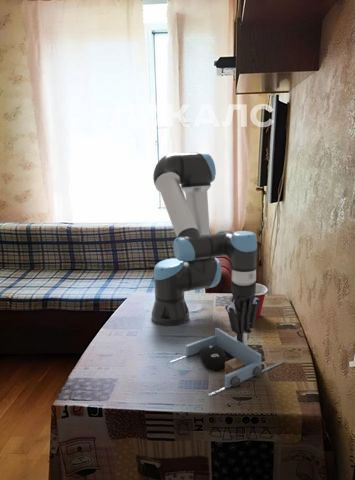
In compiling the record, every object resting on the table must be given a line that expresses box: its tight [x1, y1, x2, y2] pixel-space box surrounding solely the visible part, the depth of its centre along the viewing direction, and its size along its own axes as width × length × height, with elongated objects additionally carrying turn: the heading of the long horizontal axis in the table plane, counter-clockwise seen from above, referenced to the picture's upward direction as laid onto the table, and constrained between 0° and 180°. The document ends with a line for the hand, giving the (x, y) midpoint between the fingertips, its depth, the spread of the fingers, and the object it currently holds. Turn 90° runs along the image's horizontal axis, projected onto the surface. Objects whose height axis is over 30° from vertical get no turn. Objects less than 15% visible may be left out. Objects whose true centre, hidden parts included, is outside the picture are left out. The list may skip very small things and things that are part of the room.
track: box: [169, 336, 286, 397], centre depth 117 cm, size 21×30×1 cm
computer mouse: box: [199, 346, 227, 373], centre depth 117 cm, size 8×12×4 cm, turn 9°
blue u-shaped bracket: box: [185, 327, 263, 389], centre depth 115 cm, size 23×13×6 cm, turn 32°
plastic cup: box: [255, 282, 269, 319], centre depth 147 cm, size 11×11×12 cm
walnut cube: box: [224, 357, 245, 375], centre depth 110 cm, size 4×4×4 cm
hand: (242, 350), depth 120 cm, fingers closed
